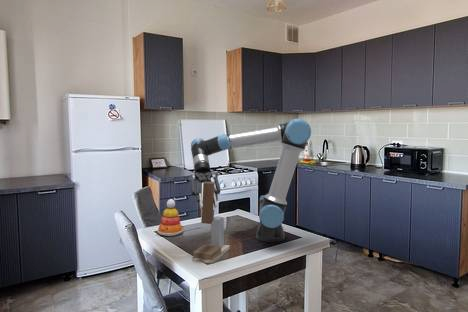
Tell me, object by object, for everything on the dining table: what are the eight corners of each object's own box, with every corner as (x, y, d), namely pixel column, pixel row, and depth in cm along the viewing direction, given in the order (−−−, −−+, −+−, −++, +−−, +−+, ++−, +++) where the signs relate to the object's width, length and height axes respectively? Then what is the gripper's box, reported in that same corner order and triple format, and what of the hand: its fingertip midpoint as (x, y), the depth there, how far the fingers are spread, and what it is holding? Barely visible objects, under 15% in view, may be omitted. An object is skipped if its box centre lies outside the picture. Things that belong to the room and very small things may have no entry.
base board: (229, 248, 172) (229, 240, 171) (213, 263, 152) (213, 254, 152) (210, 246, 175) (210, 238, 175) (192, 260, 155) (192, 252, 155)
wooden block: (204, 218, 162) (206, 179, 161) (213, 218, 162) (215, 180, 160) (201, 223, 153) (203, 182, 152) (211, 224, 153) (213, 183, 151)
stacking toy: (152, 234, 195) (151, 199, 194) (171, 228, 207) (170, 195, 205) (169, 238, 187) (169, 202, 185) (188, 232, 198) (188, 198, 197)
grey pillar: (223, 245, 172) (223, 216, 171) (219, 248, 166) (218, 219, 165) (216, 244, 173) (215, 216, 172) (211, 248, 168) (211, 219, 167)
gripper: (219, 170, 173) (227, 210, 159) (181, 171, 168) (186, 212, 154) (221, 160, 168) (230, 201, 153) (182, 161, 163) (188, 203, 148)
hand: (208, 206), depth 154 cm, fingers closed on wooden block, 6 cm apart
